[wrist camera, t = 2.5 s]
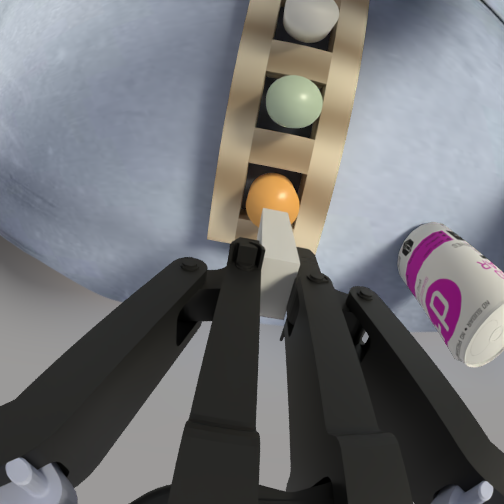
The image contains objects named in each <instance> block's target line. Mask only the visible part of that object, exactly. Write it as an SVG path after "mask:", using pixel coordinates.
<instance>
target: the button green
mask: <svg viewBox="0 0 504 504" xmlns="http://www.w3.org/2000/svg"><path fill="white" fill-rule="evenodd" d="M322 106H323V100H322V95H321V93H320V91H319V89H318V88H317V86H316V85H315V84H314V83H313V82H312V81H310V80H309V79H307V78H305V77H302V76H297V75H288V76H284V77H281V78H279V79H278V80H276V81H275V82H274V83H273V84H272V85H271V86H270V88H269V89H268V92H267V95H266V108H267V112H268V114H269V116H270V118H271V119H272V120H273V121H274V122H275V123H277V124H278V125H280V126H283V127H286V128H302V127H306V126H308V125H310V124H312V123H313V122H314V121H315V120H316V119H317V118H318V117H319V115H320V113H321V111H322Z"/></svg>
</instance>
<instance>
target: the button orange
mask: <svg viewBox="0 0 504 504" xmlns="http://www.w3.org/2000/svg"><path fill="white" fill-rule="evenodd" d="M299 206H300V205H299V199H298V196H297V194H296V191H295V189H294V186H293V184H292V183H291V181H290V180H289V179H288V178H287V177H285V176H284V175H282V174H279V173H273V172H270V173H265V174H262V175H260V176H259V177H257V178H256V179H255V180H254V181H253V183H252V184H251V187H250V190H249V193H248V197H247V201H246V211H247V214H248V217H249V218H250V220H251V221H252V223H253V224H255V225H256V226H257V227H259V225H260V220H261V215H262V210H263V208H267V209H272V210H277V211H282V212H287V213H288V215H289V219H290V223H291V224H292V223H293V222H294V221H295V219H296V218H297V216H298V213H299Z"/></svg>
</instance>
